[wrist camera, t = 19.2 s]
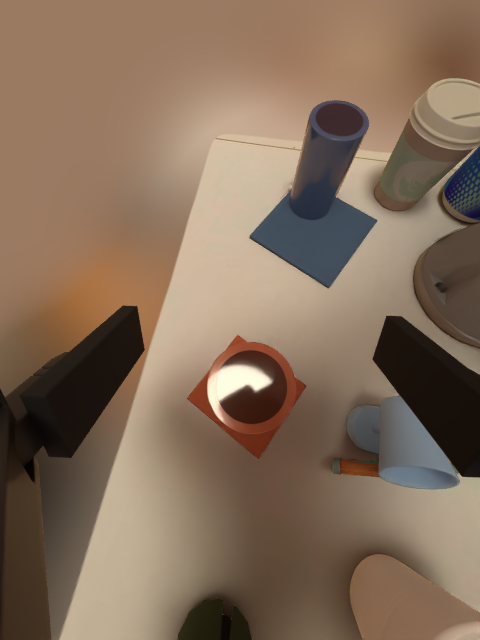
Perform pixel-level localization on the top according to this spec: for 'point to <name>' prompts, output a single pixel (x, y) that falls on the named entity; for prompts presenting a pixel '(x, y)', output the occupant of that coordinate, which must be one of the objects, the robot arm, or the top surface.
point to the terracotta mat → (249, 441)
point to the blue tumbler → (326, 156)
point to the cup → (406, 605)
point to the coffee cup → (431, 142)
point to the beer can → (464, 190)
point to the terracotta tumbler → (251, 388)
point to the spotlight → (400, 445)
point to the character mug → (214, 623)
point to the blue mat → (314, 238)
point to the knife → (359, 467)
